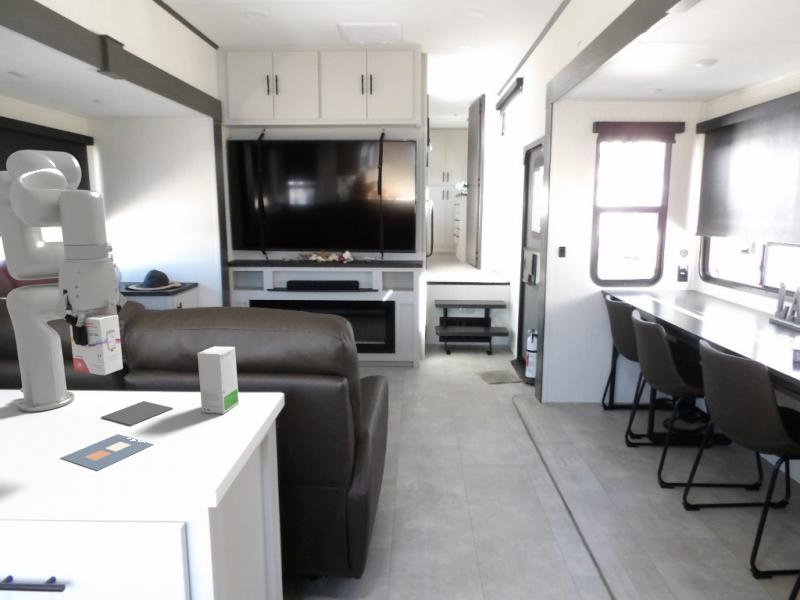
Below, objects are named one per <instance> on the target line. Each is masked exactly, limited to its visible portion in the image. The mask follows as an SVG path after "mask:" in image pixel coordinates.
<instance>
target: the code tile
mask: <svg viewBox="0 0 800 600" xmlns="http://www.w3.org/2000/svg"><path fill="white" fill-rule="evenodd" d="M127 438H131V439H127ZM132 439H135V440H136V441H130V440H132ZM138 440H139V439H136V438H134V437H131V436H130V437H129V436H127V435H126V436H125V435H122V434H118V433H116V434H115V435H112V436H109V437H107V438H104V439H103V440H100V441H98V442H95V443H92V444H91V445H88V446H85V447H83V448H81V449H79V450H76V451H73V452H71V453H72V454H71V453H69V454H66V455H63V456H62V457H60V459H61V460H64V461H67V462H70V463H73V464H76V465H78V466H82V467H85V468H88V469H90V470H93V471H97V472H98V471H101V470H102V469H104V468H106V467H109V466H111V465H113V464H115V463H117V462H119V461H121V460H123V459H124V460H125V459H126V458H128V457H131V456H132V455H135V454H137V453H140V452H141V451H143V450H145V448H146V449H148V448H149V446H150V447H152V446H154V445H153V444H154V443H150V442H146V441H144V442H145V443H144V442H138ZM151 445H152V446H151ZM147 447H148V448H147Z"/></svg>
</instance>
